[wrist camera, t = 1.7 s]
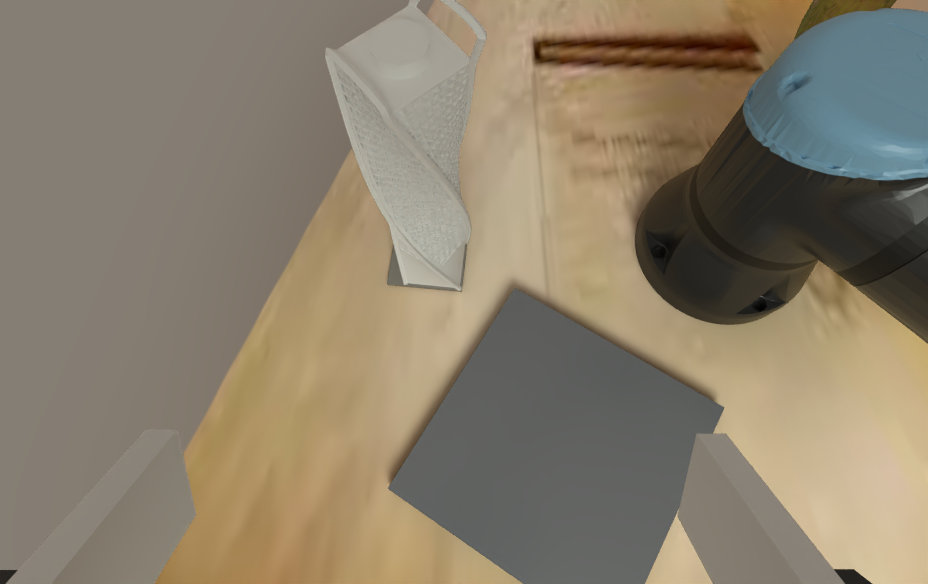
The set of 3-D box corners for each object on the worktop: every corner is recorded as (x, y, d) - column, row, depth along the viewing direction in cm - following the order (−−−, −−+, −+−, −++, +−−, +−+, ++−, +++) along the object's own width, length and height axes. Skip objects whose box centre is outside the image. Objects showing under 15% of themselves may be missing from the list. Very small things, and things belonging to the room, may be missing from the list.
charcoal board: (513, 293, 47) (515, 287, 46) (716, 409, 43) (724, 407, 42) (390, 488, 42) (387, 488, 40) (610, 641, 38) (615, 648, 36)
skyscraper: (483, 226, 50) (496, -53, 23) (475, 304, 47) (479, 88, 21) (398, 219, 50) (317, -64, 24) (386, 296, 48) (278, 73, 21)
